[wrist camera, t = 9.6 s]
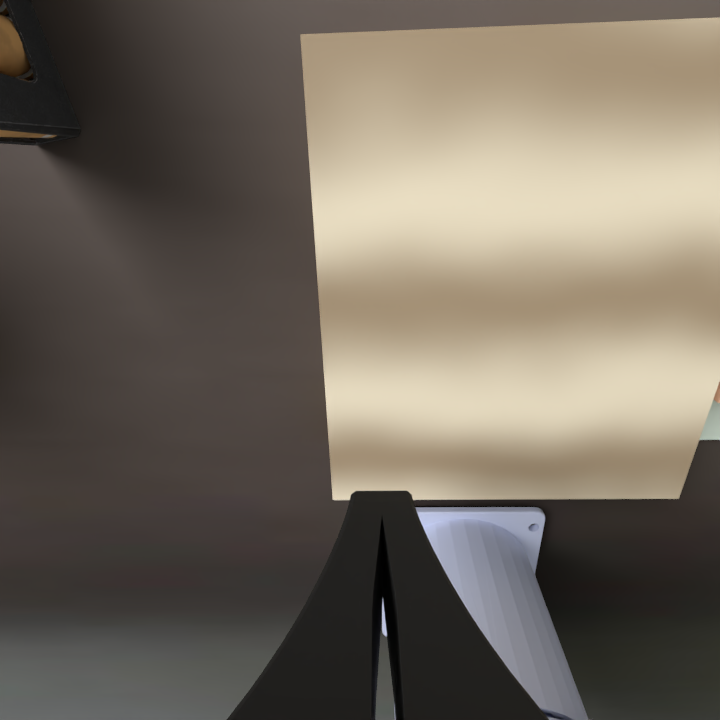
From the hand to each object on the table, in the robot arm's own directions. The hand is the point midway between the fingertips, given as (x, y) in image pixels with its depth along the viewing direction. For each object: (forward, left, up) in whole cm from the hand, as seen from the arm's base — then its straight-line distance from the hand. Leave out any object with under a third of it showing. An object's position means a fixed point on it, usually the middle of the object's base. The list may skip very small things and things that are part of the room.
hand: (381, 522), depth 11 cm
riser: (+3, -5, -9) cm, 11 cm away
